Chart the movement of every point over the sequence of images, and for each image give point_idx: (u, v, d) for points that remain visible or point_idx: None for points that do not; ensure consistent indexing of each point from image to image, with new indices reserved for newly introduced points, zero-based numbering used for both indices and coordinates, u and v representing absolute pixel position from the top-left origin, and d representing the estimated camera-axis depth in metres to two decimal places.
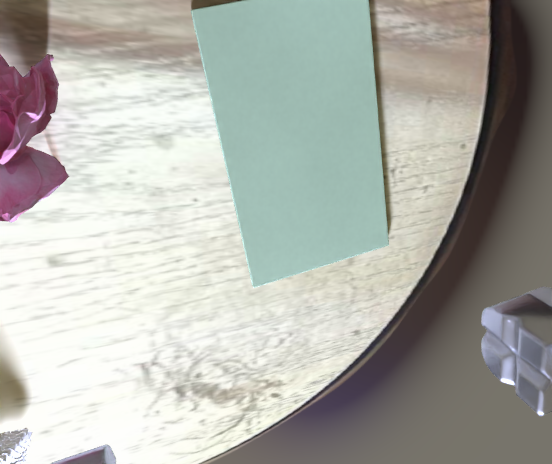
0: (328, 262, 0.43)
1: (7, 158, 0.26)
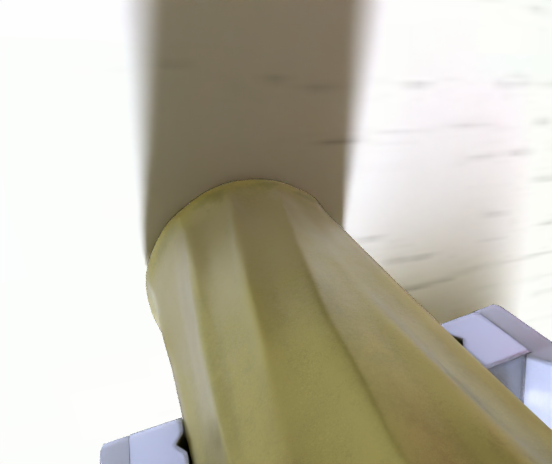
0: None
1: None
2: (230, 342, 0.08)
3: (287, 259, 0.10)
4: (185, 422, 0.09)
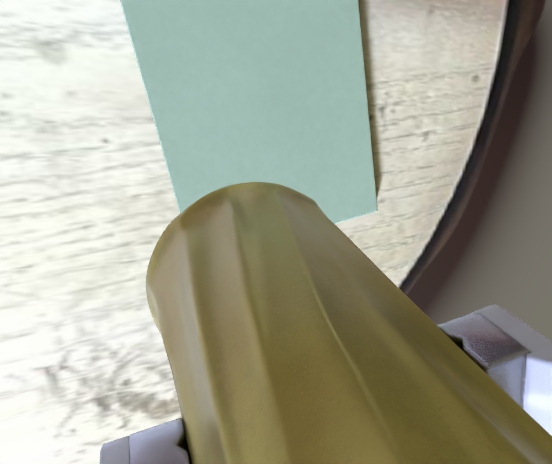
0: None
1: None
2: (231, 347, 0.08)
3: (287, 263, 0.10)
4: (185, 426, 0.09)
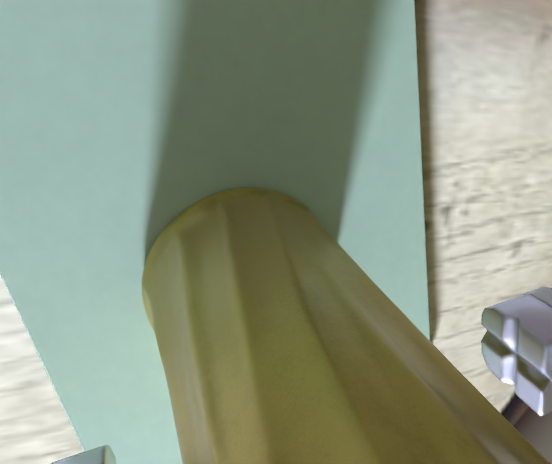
0: None
1: None
2: (220, 348, 0.09)
3: (276, 268, 0.10)
4: (176, 424, 0.09)
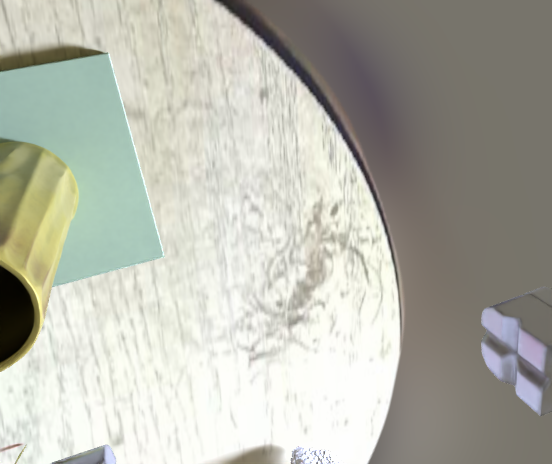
0: (133, 156, 0.30)
1: None
2: None
3: None
4: None
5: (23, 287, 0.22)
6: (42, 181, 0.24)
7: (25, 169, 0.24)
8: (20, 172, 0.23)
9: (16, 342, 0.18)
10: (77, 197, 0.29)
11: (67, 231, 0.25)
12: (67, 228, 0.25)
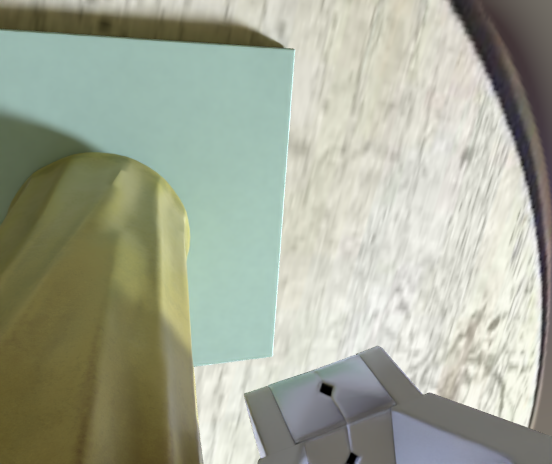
0: (278, 209, 0.19)
1: None
2: None
3: None
4: None
5: None
6: (169, 247, 0.13)
7: (142, 219, 0.13)
8: (137, 225, 0.12)
9: None
10: None
11: None
12: None
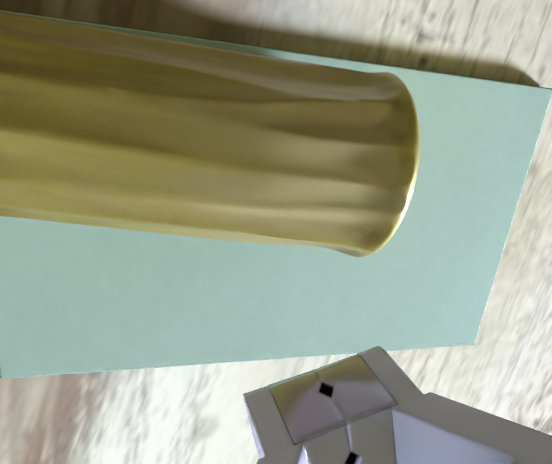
0: (510, 219, 0.23)
1: None
2: None
3: None
4: (183, 226, 0.13)
5: None
6: None
7: None
8: None
9: None
10: (405, 107, 0.14)
11: (243, 98, 0.12)
12: (241, 92, 0.12)
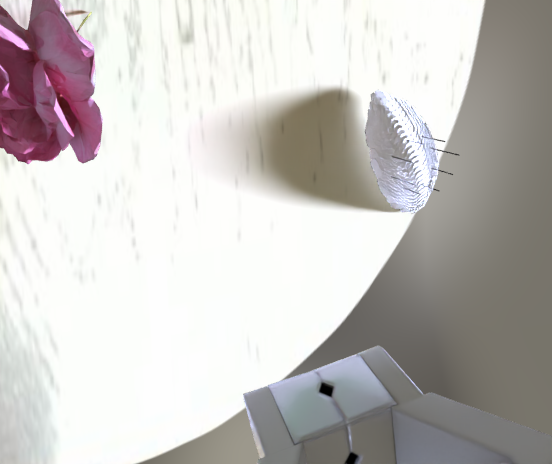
0: None
1: (12, 36, 0.24)
2: None
3: None
4: None
5: None
6: None
7: None
8: None
9: None
10: None
11: None
12: None
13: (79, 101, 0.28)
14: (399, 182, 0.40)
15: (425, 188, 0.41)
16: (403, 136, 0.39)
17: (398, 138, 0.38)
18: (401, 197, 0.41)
